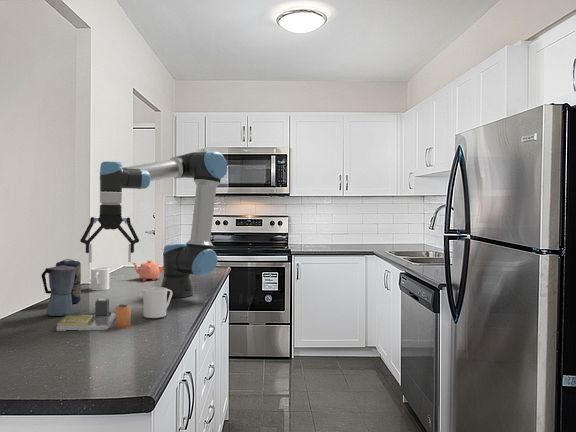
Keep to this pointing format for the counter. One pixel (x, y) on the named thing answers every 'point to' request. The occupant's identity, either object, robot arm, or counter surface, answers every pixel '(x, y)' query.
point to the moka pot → (59, 289)
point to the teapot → (148, 270)
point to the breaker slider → (102, 307)
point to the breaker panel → (85, 321)
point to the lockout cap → (123, 316)
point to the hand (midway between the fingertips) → (110, 262)
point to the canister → (77, 280)
